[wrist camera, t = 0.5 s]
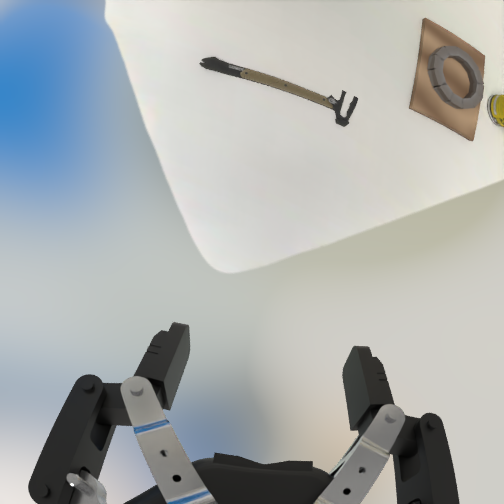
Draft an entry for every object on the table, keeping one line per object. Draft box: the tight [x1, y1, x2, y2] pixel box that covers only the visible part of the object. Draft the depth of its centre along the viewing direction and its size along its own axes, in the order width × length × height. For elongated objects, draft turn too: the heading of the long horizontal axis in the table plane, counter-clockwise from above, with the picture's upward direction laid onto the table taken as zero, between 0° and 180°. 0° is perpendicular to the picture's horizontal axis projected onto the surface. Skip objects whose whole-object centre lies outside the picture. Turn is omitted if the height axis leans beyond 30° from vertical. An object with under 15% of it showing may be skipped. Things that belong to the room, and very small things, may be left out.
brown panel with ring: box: [409, 18, 485, 141], centre depth 26 cm, size 16×12×3 cm
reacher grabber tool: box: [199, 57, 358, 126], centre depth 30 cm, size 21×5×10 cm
